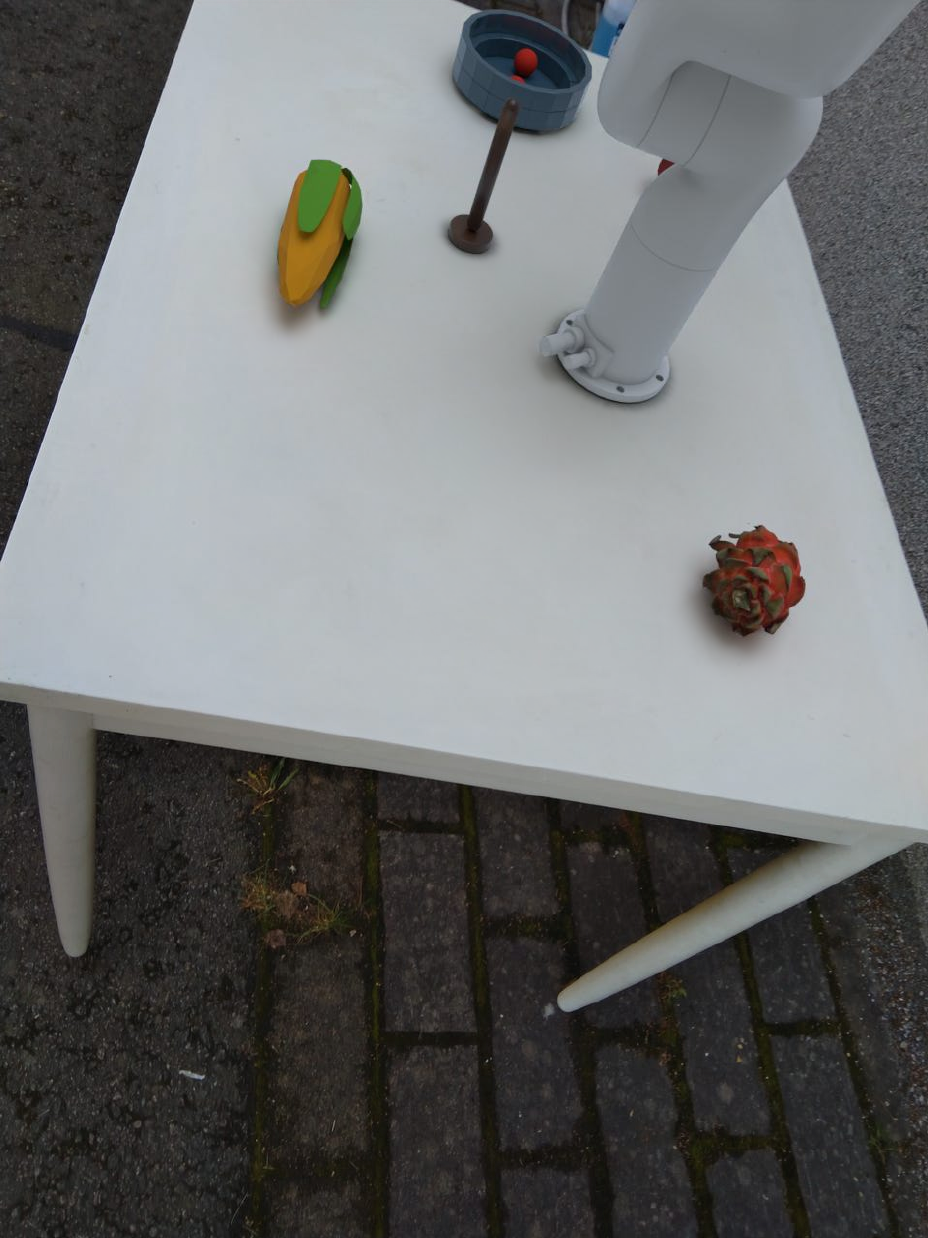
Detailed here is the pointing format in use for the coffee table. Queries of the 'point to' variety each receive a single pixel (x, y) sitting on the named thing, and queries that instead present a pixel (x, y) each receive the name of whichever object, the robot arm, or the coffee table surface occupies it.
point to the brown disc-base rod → (485, 188)
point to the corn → (318, 231)
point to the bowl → (490, 65)
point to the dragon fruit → (755, 580)
